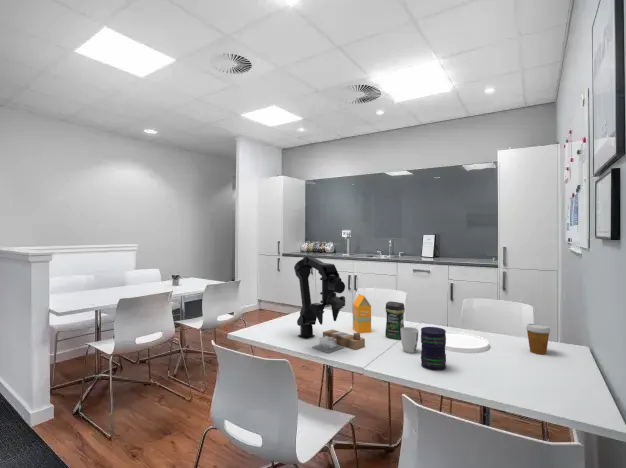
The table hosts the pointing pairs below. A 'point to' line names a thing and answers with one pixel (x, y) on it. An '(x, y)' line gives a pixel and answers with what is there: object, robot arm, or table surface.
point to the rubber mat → (327, 349)
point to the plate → (465, 342)
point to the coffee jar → (394, 319)
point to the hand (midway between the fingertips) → (328, 322)
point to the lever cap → (328, 342)
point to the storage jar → (433, 348)
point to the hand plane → (346, 339)
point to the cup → (409, 339)
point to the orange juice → (361, 315)
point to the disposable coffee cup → (538, 338)
